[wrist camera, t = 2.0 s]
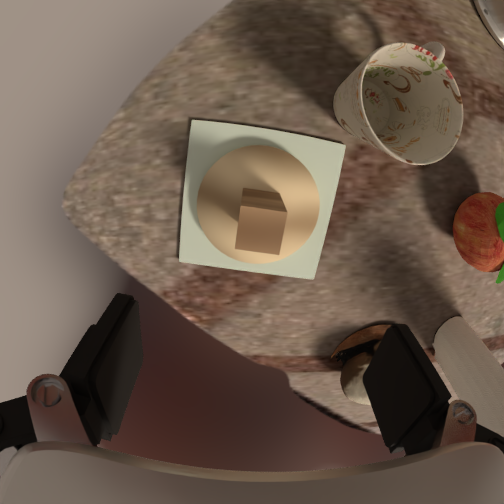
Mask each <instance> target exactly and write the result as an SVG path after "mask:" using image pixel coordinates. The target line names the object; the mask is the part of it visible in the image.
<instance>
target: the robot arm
mask: <svg viewBox="0 0 504 504" xmlns="http://www.w3.org/2000/svg"><path fill="white" fill-rule="evenodd" d="M474 3H475V6H476V8H477V11H478V13H479V15H480V17H481V19H482V21H483V22H484V24H485V26H486V27H487V29H488V30H489V32H490V33H491V35H492V36H493V38H494V39H495V40H496V41H497V43H498V44H499V45H500V46H501V47H502V48H503V49H504V0H474ZM142 362H143V349H142V340H141V330H140V319H139V305H138V301H136V300H134V298H133V296H131V295H126V294H121V293H117V294H116V295H115V297H114V298H113V300H112V301H111V303H110V304H109V306H108V307H107V309H106V310H105V312H104V313H103V315H102V316H101V318H100V319H99V321H98V322H97V324H96V325H94V324H93V325H91V326H90V327H89V329H88V330H87V332H86V333H85V335H84V336H83V338H82V339H81V341H80V342H79V344H78V346H77V347H76V349H75V351H74V352H73V354H72V355H71V357H70V359H69V360H68V362H67V363H66V365H65V367H64V369H63V370H62V372H61V374H60V375H59V376H57V375H54V374H42V375H40V376H37V377H36V378H34V379H33V380H32V381H31V382H30V384H29V385H28V388H27V391H26V392H27V395H25V396H22V397H19V398H15V399H12V400H9V401H5V402H2V403H0V504H504V437H502V436H501V435H499V434H498V433H496V432H494V431H492V430H490V429H488V428H486V427H484V426H482V425H480V424H478V423H477V415H476V412H475V410H474V408H473V407H472V406H471V405H470V404H469V403H467V402H466V401H463V400H454V401H452V402H451V403H450V404H449V402H448V400H449V399H450V398H451V397H452V396H451V394H450V393H449V391H448V389H447V387H446V386H445V384H444V382H443V381H442V379H441V377H440V376H439V374H438V372H437V371H436V369H435V367H434V366H433V364H432V363H431V361H430V359H429V358H428V356H427V355H426V353H425V352H424V350H423V348H422V347H421V345H420V344H419V342H418V341H417V339H416V338H415V336H414V335H413V333H412V332H411V330H410V329H409V327H408V326H407V325H405V324H392V325H391V326H390V328H388V329H387V330H386V332H385V334H384V336H383V338H382V340H381V342H380V344H379V346H378V348H377V350H376V352H375V354H374V356H373V358H372V360H371V361H370V363H369V365H368V367H367V369H366V371H365V372H364V374H363V379H362V380H363V384H364V387H365V390H366V392H367V395H368V398H369V400H370V403H371V406H372V409H373V411H374V414H375V417H376V420H377V423H378V425H379V428H380V431H381V434H382V437H383V440H384V443H385V445H386V446H387V447H389V450H390V453H396V452H400V451H403V450H405V452H406V453H405V455H404V457H401V458H397V459H393V460H387V461H383V462H378V463H372V464H366V465H359V466H353V467H346V468H337V469H328V470H315V471H299V472H248V471H229V470H218V469H207V468H200V467H192V466H185V465H179V464H173V463H167V462H162V461H156V460H151V459H146V458H142V457H137V456H133V455H129V454H125V453H121V452H116V451H111V450H108V449H103V448H100V447H98V446H97V444H100V441H101V438H102V439H105V440H109V441H111V438H112V435H113V434H115V435H117V433H118V431H119V429H120V425H121V422H122V419H123V416H124V413H125V410H126V408H127V404H128V402H129V399H130V396H131V393H132V390H133V387H134V385H135V382H136V379H137V376H138V373H139V371H140V368H141V366H142Z"/></svg>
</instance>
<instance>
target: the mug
mask: <svg viewBox="0 0 504 504" xmlns="http://www.w3.org/2000/svg"><path fill="white" fill-rule="evenodd" d="M431 52H432V53H431ZM444 54H445V49H444V47H443V45H442V44H440V43H439V42H430V43H427V44H425V45H423V46H421V47H420V46H417V45H414V44H410V43H401V42H399V43H391V44H387V45H384V46H382V47H380V48H378V49H376V50H375V51H374V52H372V53H371V54H370V55H369V56H368V57H367V58H366V59H365V60H364V61H363V62H362V63H361V64H360V65H359V66H358V67H357V68H356V69H355V70H354V71H353V72H352V73H351V74H350V75H349V76H348V77H347V78H346V79H345V80H344V81H343V82H342V83H341V85H340V86H339V87H338V89H337V90H336V92H335V95H334V100H333V108H334V113H335V116H336V118H337V120H338V122H339V124H340V125H341V126H342V127H343V128H344V129H345V130H346V131H347V132H348V133H350V134H351V135H353V136H355V137H357V138H359V139H361V140H363V141H364V142H366V143H368V144H370V145H372V146H374V147H375V148H377V149H379V150H381V151H382V152H384V153H386V154H388V155H389V156H391V157H393V158H395V159H397V160H399V161H402V162H405V163H409V164H413V165H426V164H431V163H434V162H437V161H439V160H441V159H442V158H444V157H445V156H446V155H447V154H448V153H449V152H450V151H451V150H452V149H453V147H454V146H455V144H456V143H457V141H458V138H459V136H460V133H461V129H462V124H463V105H462V99H461V95H460V92H459V89H458V86H457V84H456V82H455V80H454V78H453V76H452V75H451V73H450V71H449V70H448V69H447V67H446V66H445V65H444V64H443V63H442V62H441V61H442V59H443V57H444Z"/></svg>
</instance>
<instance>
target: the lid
mask: <svg viewBox="0 0 504 504" xmlns="http://www.w3.org/2000/svg"><path fill="white" fill-rule="evenodd" d="M319 210H320V200H319V193H318V189H317V186H316V183H315V181H314V179H313V177H312V175H311V174H310V172H309V171H308V169H307V168H306V167H305V166H304V165H303V164H302V163H301V162H300V161H299V160H298V159H297V158H295V157H294V156H292V155H291V154H289V153H287V152H285V151H284V150H281V149H278V148H276V147H271V146H266V145H250V146H245V147H241V148H238V149H235V150H233V151H231V152H229V153H227V154H226V155H224V156H222V157H221V158H220V159H219V160H218V161H217V162H215V163H214V164H213V166H212V167H211V168H210V169H209V170H208V172H207V173H206V175H205V176H204V178H203V180H202V182H201V184H200V188H199V191H198V196H197V215H198V219H199V223H200V225H201V228H202V230H203V232H204V234H205V236H206V237H207V238H208V240H209V241H210V242H211V243H212V244H213V245H214V247H215V248H217V249H218V250H219V251H220V252H222V253H223V254H225V255H227V256H228V257H230V258H233V259H235V260H238V261H241V262H245V263H252V264H265V263H271V262H275V261H278V260H281V259H283V258H286V257H288V256H289V255H291V254H293V253H294V252H295V251H297V250H298V249H299V248H300V247H301V246H302V245H304V244H305V242H306V241H307V240H308V239H309V237H310V236H311V234H312V232H313V230H314V228H315V226H316V223H317V220H318V216H319Z"/></svg>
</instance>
